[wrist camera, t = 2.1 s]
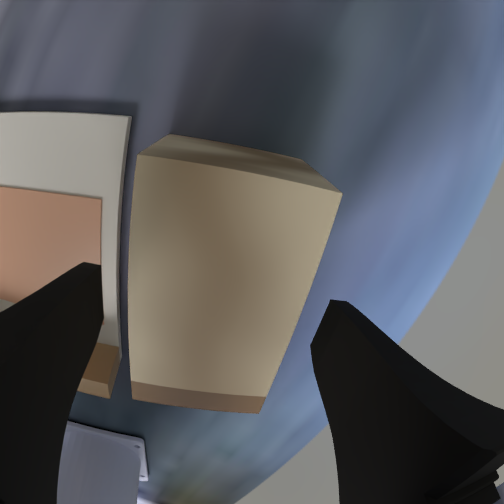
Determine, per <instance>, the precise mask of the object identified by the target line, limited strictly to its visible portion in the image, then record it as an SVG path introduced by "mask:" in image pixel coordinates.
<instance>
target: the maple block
mask: <svg viewBox="0 0 504 504" xmlns="http://www.w3.org/2000/svg"><path fill="white" fill-rule="evenodd" d="M342 195H343V193H342V192H340V191H339V190H338V189H337V188H336V187H335V186H333V185H332V184H331V183H330V182H329V181H327V180H326V179H325V178H324V177H323V176H321V175H320V174H319V173H318V172H317V171H315V170H314V169H313V168H312V167H310V166H309V165H308V164H307V163H305V162H304V161H303V160H302V159H298V158H294V157H290V156H285V155H281V154H277V153H272V152H268V151H263V150H258V149H253V148H249V147H244V146H238V145H233V144H228V143H223V142H217V141H211V140H205V139H199V138H193V137H187V136H180V135H173V134H168V135H167V136H165V137H163V138H162V139H160V140H159V141H157V142H155V143H154V144H152V145H151V146H149V147H148V148H146V149H145V150H143V151H142V152H140V153H139V154H137V160H136V168H135V177H134V187H133V197H132V209H131V222H130V238H129V261H128V337H129V359H130V374H131V387H132V399H135V400H140V401H146V402H152V403H158V404H164V405H171V406H178V407H186V408H194V409H203V410H213V411H224V412H238V413H256V414H259V412H260V410H261V408H262V405H263V403H264V401H265V399H266V396H267V394H268V392H269V390H270V387H271V385H272V383H273V380H274V378H275V376H276V373H277V371H278V369H279V366H280V364H281V361H282V359H283V357H284V354H285V352H286V349H287V347H288V344H289V342H290V340H291V337H292V335H293V332H294V330H295V327H296V324H297V322H298V319H299V317H300V314H301V312H302V309H303V306H304V304H305V301H306V299H307V296H308V293H309V291H310V288H311V285H312V282H313V280H314V277H315V274H316V271H317V269H318V266H319V263H320V260H321V257H322V255H323V252H324V249H325V246H326V243H327V240H328V237H329V234H330V231H331V228H332V225H333V222H334V219H335V216H336V213H337V210H338V207H339V204H340V201H341V198H342Z"/></svg>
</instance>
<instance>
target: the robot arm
mask: <svg viewBox="0 0 504 504" xmlns="http://www.w3.org/2000/svg"><path fill="white" fill-rule="evenodd" d="M103 320H104V310H103V293H102V266H101V265H98V264H93V263H88V262H82V263H80V264H78V265H77V266H75V267H73V268H72V269H70V270H69V271H67V272H65V273H64V274H62V275H61V276H59V277H58V278H56V279H54V280H53V281H51V282H50V283H48V284H47V285H45V286H43V287H42V288H40V289H39V290H37V291H36V292H34V293H32V294H31V295H29V296H27V297H26V298H24V299H22V300H21V301H19V302H17V303H16V304H14V305H12V306H11V307H9V308H7V309H5V310H3V311H1V312H0V504H137V495H138V485H139V480H141V481H148V470H147V462H146V454H145V445H144V440H143V439H141V438H138V437H133V436H128V435H123V434H118V433H114V432H109V431H105V430H101V429H97V428H93V427H89V426H85V425H81V424H78V423H74V422H71V421H68V417H69V413H70V409H71V406H72V403H73V400H74V397H75V395H76V392H77V389H78V387H79V384H80V382H81V379H82V377H83V375H84V372H85V370H86V367H87V365H88V363H89V360H90V358H91V355H92V353H93V351H94V348H95V346H96V343H97V340H98V337H99V333H100V330H101V326H102V323H103ZM310 347H311V355H312V362H313V368H314V373H315V377H316V381H317V384H318V387H319V391H320V394H321V398H322V401H323V404H324V408H325V411H326V415H327V418H328V421H329V425H330V429H331V433H332V437H333V443H334V450H335V456H336V464H337V472H338V483H339V501H340V504H504V483H502V484H501V485H499V486H498V487H496V486H495V484H494V481H496V480H497V479H498V478H499V475H498V474H497V471H496V470H497V469H498V468H499V467H501V466H502V465H503V464H504V410H503V409H500V408H498V407H495V406H493V405H490V404H488V403H486V402H483V401H481V400H479V399H477V398H475V397H473V396H471V395H469V394H467V393H465V392H464V391H462V390H460V389H458V388H456V387H455V386H453V385H451V384H450V383H448V382H447V381H445V380H443V379H442V378H440V377H439V376H437V375H436V374H435V373H433V372H432V371H430V370H429V369H427V368H426V367H425V366H423V365H422V364H421V363H419V362H418V361H417V360H416V359H414V358H413V357H412V356H411V355H409V354H408V353H407V352H406V351H404V350H403V349H402V348H401V347H400V346H399V345H397V344H396V343H395V342H394V341H393V340H392V339H390V338H389V337H388V336H387V335H386V334H385V333H384V332H383V331H381V330H380V329H379V328H378V327H377V326H376V325H375V324H374V323H373V322H371V321H370V320H369V319H368V318H367V317H366V316H365V315H363V314H362V313H361V312H360V311H359V310H358V309H356V308H355V307H354V306H353V305H351V304H350V303H349V302H347V301H339V300H330V302H329V304H328V307H327V309H326V311H325V314H324V316H323V318H322V320H321V323H320V325H319V327H318V329H317V332H316V334H315V336H314V338H313V341H312V343H311V345H310Z"/></svg>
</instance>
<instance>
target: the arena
mask: <svg viewBox="0 0 504 504" xmlns="http://www.w3.org/2000/svg"><path fill="white" fill-rule="evenodd" d="M131 121H132V116H125V115H113V114H100V113H83V112H56V111H17V112H0V312H1V311H3V310H5V309H7V308H9V307H11V306H12V305H14V304H16V303H17V302H19V301H21V300H22V299H24V298H26V297H27V296H29V295H31V294H32V293H34V292H36V291H37V290H39V289H40V288H42V287H43V286H45V285H47V284H48V283H50V282H51V281H53V280H54V279H56V278H58V277H59V276H61V275H62V274H64V273H65V272H67V271H69V270H70V269H72V268H73V267H75V266H77V265H78V264H80V263H82V262H88V263H93V264H98V265H101V266H102V293H103V310H104V320H103V323H102V326H101V330H100V333H99V337H98V340H97V343H96V346H95V348H94V351H93V353H92V355H91V358H90V360H89V363H88V365H87V367H86V370H85V372H84V375H83V377H82V379H81V382H80V384H79V387H78V389H77V391H80V392H83V393H87V394H91V395H95V396H99V397H104V398H108V399H110V397H111V394H112V390H113V386H114V383H115V379H116V375H117V372H118V368H119V365H120V362H121V358H122V347H121V329H120V300H119V259H120V229H121V212H122V198H123V186H124V175H125V166H126V157H127V149H128V141H129V134H130V127H131Z"/></svg>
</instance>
